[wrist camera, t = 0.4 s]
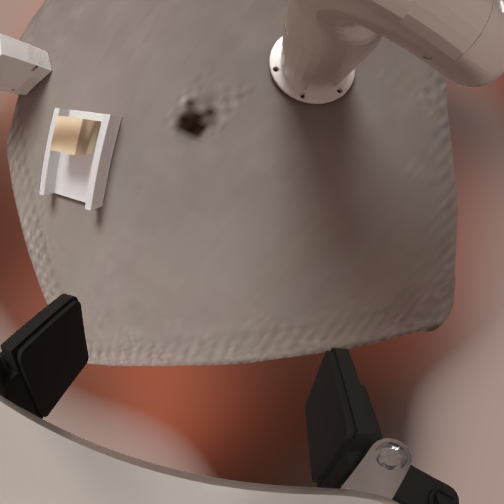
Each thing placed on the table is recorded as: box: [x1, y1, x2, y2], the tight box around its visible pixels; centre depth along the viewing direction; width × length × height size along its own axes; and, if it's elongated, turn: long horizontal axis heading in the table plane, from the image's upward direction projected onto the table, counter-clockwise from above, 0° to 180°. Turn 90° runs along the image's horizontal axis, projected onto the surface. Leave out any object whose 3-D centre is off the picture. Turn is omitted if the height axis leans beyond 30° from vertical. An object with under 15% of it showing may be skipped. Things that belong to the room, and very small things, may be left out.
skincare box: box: [0, 34, 52, 95], centre depth 30 cm, size 8×6×15 cm
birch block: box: [50, 116, 101, 155], centre depth 38 cm, size 6×6×6 cm
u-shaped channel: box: [40, 108, 122, 211], centre depth 40 cm, size 15×12×4 cm
